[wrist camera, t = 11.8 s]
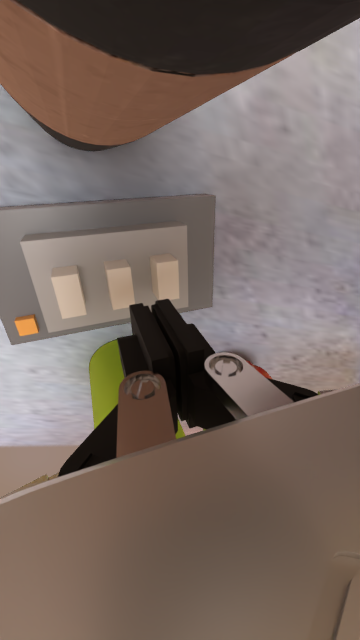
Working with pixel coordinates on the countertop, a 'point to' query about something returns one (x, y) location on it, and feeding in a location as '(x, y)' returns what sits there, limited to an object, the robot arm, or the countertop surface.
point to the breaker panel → (100, 216)
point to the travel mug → (145, 57)
